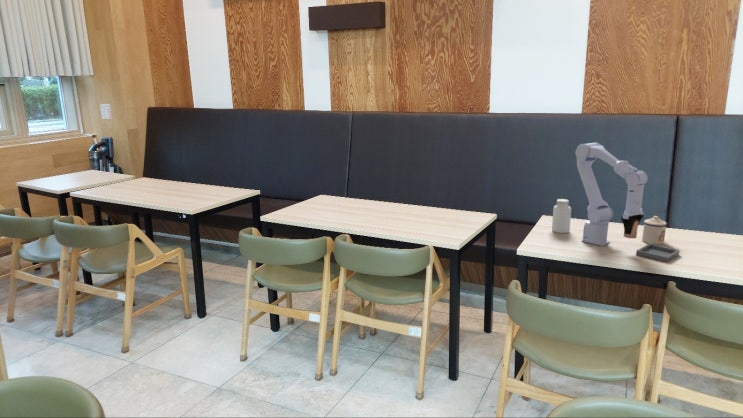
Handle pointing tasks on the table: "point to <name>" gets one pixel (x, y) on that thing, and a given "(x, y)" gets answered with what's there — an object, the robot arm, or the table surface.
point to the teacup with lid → (654, 231)
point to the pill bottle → (561, 216)
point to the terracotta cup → (634, 231)
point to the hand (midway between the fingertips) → (630, 232)
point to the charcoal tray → (657, 252)
